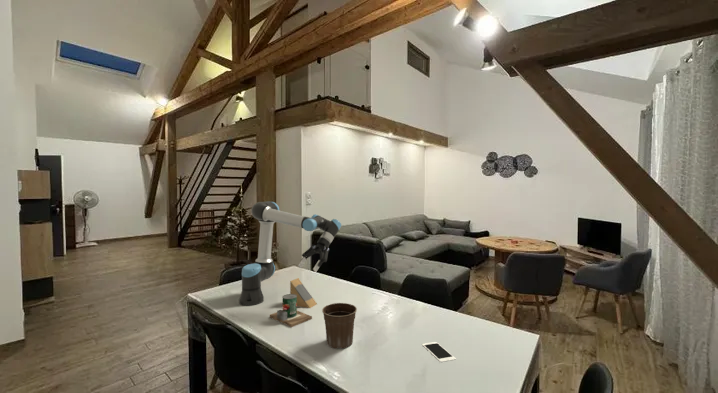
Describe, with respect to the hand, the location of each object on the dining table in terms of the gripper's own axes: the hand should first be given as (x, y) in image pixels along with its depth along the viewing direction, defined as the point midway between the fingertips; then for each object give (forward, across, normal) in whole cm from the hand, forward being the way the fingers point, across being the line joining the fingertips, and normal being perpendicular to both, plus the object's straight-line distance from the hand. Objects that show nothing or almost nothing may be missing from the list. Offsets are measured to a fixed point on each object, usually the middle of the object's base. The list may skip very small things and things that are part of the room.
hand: (306, 268), depth 184 cm
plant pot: (+29, -41, -8) cm, 51 cm away
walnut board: (+26, 0, -10) cm, 28 cm away
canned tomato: (+26, 0, -8) cm, 27 cm away
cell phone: (+13, -80, -24) cm, 85 cm away
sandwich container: (+13, +12, -24) cm, 29 cm away
